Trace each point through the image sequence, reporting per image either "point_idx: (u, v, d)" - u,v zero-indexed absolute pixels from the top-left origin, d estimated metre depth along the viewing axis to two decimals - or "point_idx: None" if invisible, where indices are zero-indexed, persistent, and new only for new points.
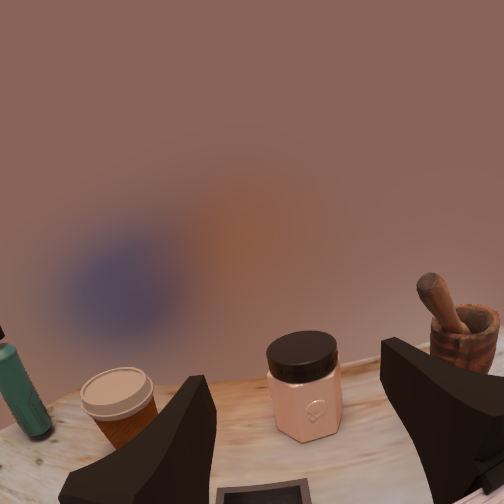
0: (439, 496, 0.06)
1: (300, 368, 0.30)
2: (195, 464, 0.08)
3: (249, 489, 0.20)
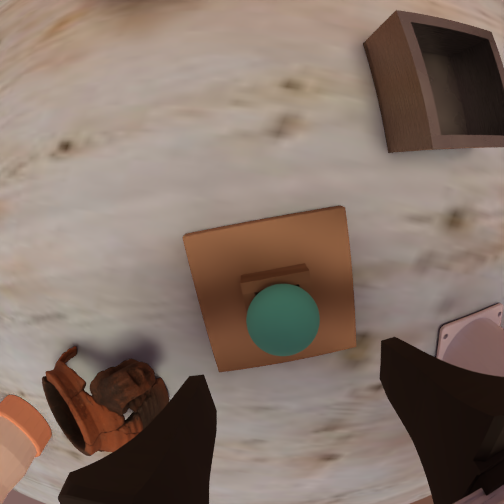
0: (440, 496, 0.06)
1: None
2: (195, 464, 0.08)
3: (438, 23, 0.11)
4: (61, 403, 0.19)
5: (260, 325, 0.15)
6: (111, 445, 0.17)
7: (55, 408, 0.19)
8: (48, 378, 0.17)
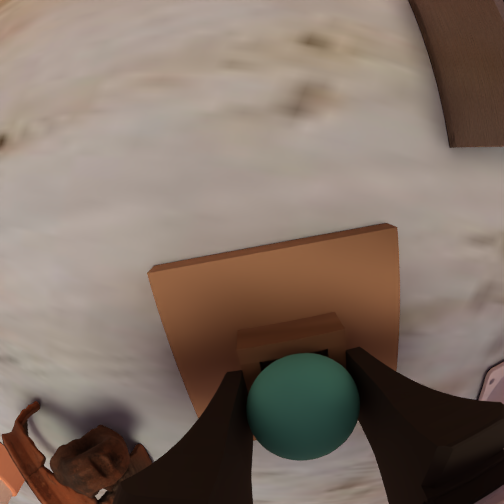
0: None
1: None
2: (242, 461, 0.08)
3: None
4: None
5: (269, 429, 0.08)
6: None
7: None
8: (4, 444, 0.10)
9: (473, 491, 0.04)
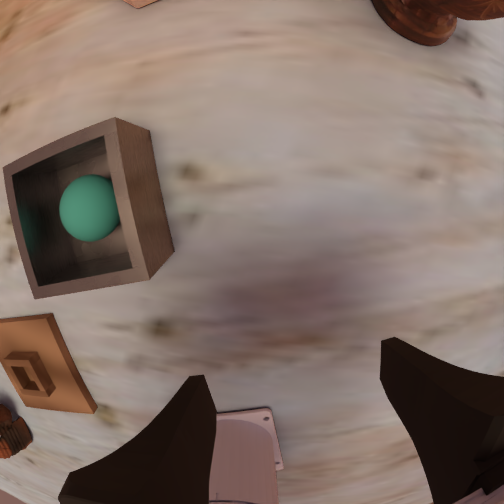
0: (439, 496, 0.06)
1: None
2: (195, 464, 0.08)
3: (37, 157, 0.12)
4: None
5: (61, 203, 0.15)
6: None
7: None
8: None
9: None
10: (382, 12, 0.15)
